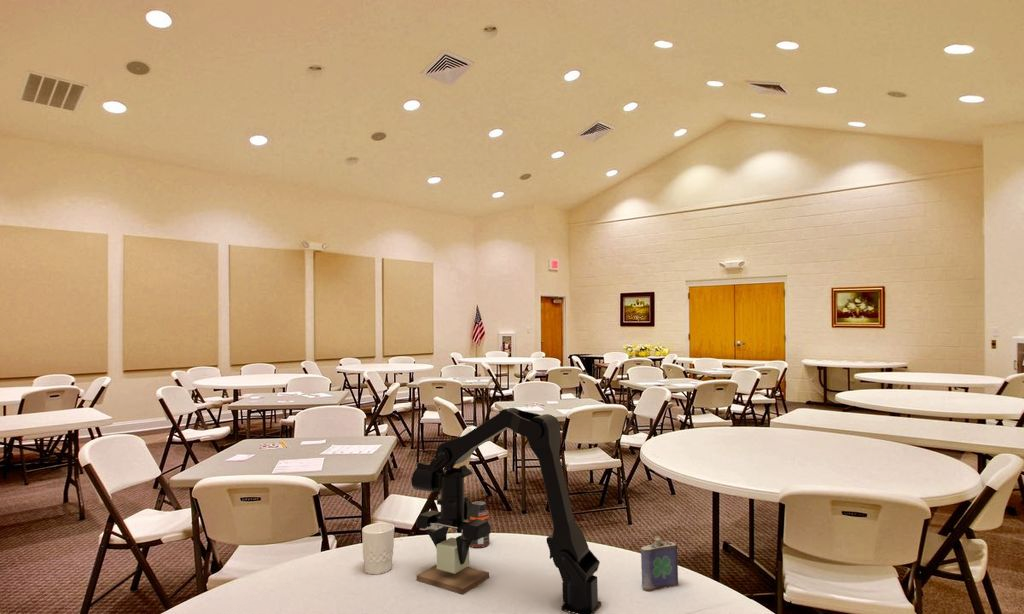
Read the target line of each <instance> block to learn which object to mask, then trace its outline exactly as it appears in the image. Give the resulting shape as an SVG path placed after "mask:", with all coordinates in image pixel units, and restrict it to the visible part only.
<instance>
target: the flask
mask: <svg viewBox="0 0 1024 614" xmlns="http://www.w3.org/2000/svg"><path fill="white" fill-rule="evenodd" d="M652 538H653V539H654V542H653V544H649V545H643V546H642V547H640V556H641V557H640V558H641V559H640V562H641V566H640V567H641V588H642V590H643V591H645V592H647V591H649V592H654V591H656V590H663V589H665V588H672V587H678V586H679V572H678V571H679V564H678V560H679V559H678V545H677V543H675V542H673V541H668V540H666V541H661V539H660V538H661V537H660V536H659V535H655V536H654V537H653V536H652Z"/></svg>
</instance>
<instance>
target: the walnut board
mask: <svg viewBox="0 0 1024 614" xmlns="http://www.w3.org/2000/svg"><path fill="white" fill-rule="evenodd" d="M488 579H490V572H489V571H485V570H482V569H478V568H474V567H470V566H467V567H466V568H464V569H462V570H460V571H459V572H457V573H455V574H454V573H450V572H447V571H443V570H439V569H437V564H435V565H433V566H430V567H429V568H428V569H425V570H424V571H422V572H419V573H418V574H416V581H417V582H420V583H423V582H424V584H427V585H430V586H434V587H437V588H440V589H442V590H443V589H444V590H447V591H450V592H454V593H457V594H460V595H465V594H466V593H468V592H469V591H470V590H471V591H472V589H474V588H475V587H478V586H479V585H480V584H482V583H484V582H485V581H486V580H488Z"/></svg>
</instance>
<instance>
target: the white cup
mask: <svg viewBox="0 0 1024 614" xmlns="http://www.w3.org/2000/svg"><path fill="white" fill-rule="evenodd" d="M361 536H362V538H361V539H362V554H363V555H362V558H363V570H364V573H366V574H368V575H381V573H382V574H384V572H385V573H388V572H389V571H390V569H391V570H392V568H393V556H394V546H395V545H394V544H395V543H394V542H395V541H394V540H395V525H394V524H393V523H391V522H375V523H370V524H368V525H364V527H362V529H361Z"/></svg>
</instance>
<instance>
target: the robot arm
mask: <svg viewBox="0 0 1024 614" xmlns="http://www.w3.org/2000/svg"><path fill="white" fill-rule="evenodd" d="M508 429H510V430H512V431H513V432H515V433H516V434H518V435H520V436H523V437H525V438H526V440H527V442H528V445H529V447H530V450H531V451H532V452H533V454H534V455H535V456H536V458H537V460H538V463H539V467H540V472H541V475H542V481H543V485H544V490H545V495H546V498H547V499H546V500H547V502H548V508H549V511H550V516H551V521H552V526H553V529H552V533H551V534H549V535H548V536H547V537H546V543H547V546H548V547H547V548H548V550H549V559H550V560H552V561H553V564H554V566H555V568H557V569H558V572H559V574H560V577H561V580H562V582H561V585H562V589H561V590H562V603H563V604H562V605H561V606H560V609H561V610H562V611H565V610H566V611H565V612H568V611H570V612H569V613H572V612H575V613H578V614H594V613H595V612H596V611H597V610H598V609H599V608H600V607H601V605H602V601H600V600H599V594H598V587H599V586H598V576H596V575H594V574H595V573H596V572H597V571H598V569H599V566H600V560H599V559H598V558H597V556H596V555H594V553H593V552H592V551H591V550H590V547H589V545H588V542H587V539H586V536H585V534H584V532H583V530H582V529H581V527H580V526H579V525H578V523H577V522H576V519H575V517H574V513H573V508H572V504H571V499H570V495H569V491H568V487H567V486H568V485H567V482H566V478H565V473H564V470H563V469H564V468H563V464H562V461H561V457H560V449H561V441H562V437H561V426H560V422H559V420H558V419H557V417H555V416H554V415H552V414H547V413H545V414H539V413H534V412H531V411H526V410H525V411H524V410H521V409H519V408H516V407H508V408H504V409H502V410H500V412H499V413H497V414H496V415H493V416H492V417H491V418H490V419H488V420H486V421H485V422H483V423H482V424H480V425H478V426H477V427H475V428H474V429H472V430H471V431H469V432H467V433H466V434H464V435H462V436H458V437H456V438H453V439H450V440H447V441H445V442H441V443H440V444H439V445H437V447H436V453H435V456H434V457H433V458H432V459H431V461H430V462H427V461H419V462H417V463H416V468H415V469H414V471H413V473H412V477H411V482H410V483H411V486H412V488H413V489H414V490H416V491H423V492H431V493H438V492H439V491H440V495H439V496H440V498H438V499H437V500H436V505H440V511H439V510H438V511H437V510H432V509H431V510H428V511H426V512H423V513H420V514H418V516H417V518H416V528H418V529H422V530H425V533H426V534H428V536H429V538H430V539H431V542H433V545H434V546H435V548H436V550H437V546H436V545H437V544H439V543H441V542H443V541H445V540H447V539H448V538H447V537H448V536H447V534H448V531H449V529H452V530H458V531H461V535H459V536H456V537H455V538H456V542H457V549H458V556H459V560H460V564H461V565H462V564H464V563H465V560H466V557H467V553H468V550H469V551H470V547H471V546H470V545H471V542H472V540H478V539H480V538H482V537H484V536H486V535H488V534H489V535H490V534H491V533H492V532H491V530H492V529H491V528H492V527H491V524H490V521H489V522H488V521H485V520H480V519H475V520H473V521H471V522H468V519H470V516H473V517H474V518H478V515H479V509H480V505H477V504H472V502H469V498H468V496H465V478H467V477H469V476H472V475H473V472H472V470H471V469H469V467H467V465H466V464H464V465H461V466H459V467H453V466H455V465H458V464H459V465H460V464H461V463H464V462H465V461H467V460H468V459H469V457H470V456H471V455H473V454H474V452H475V451H476V449H477V448H479V447H480V446H481V445H483V444H485V443H487V442H489V441H490V440H491V439H493V438H495V437H497V435H499V434H501V433H503V432H504V431H506V430H508ZM446 468H448V469H446ZM466 520H467V521H466ZM575 613H574V614H575Z"/></svg>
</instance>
